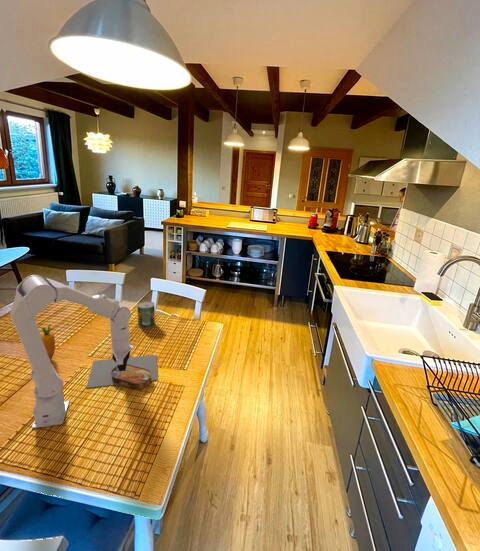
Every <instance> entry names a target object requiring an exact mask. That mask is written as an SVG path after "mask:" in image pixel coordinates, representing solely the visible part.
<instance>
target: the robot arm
mask: <svg viewBox="0 0 480 551" xmlns="http://www.w3.org/2000/svg"><path fill="white" fill-rule="evenodd" d="M15 290H16V292H15V296H14V299H13V302H12V304H11V308H10V312H9V314H10V317H11V320H12V322H13V325H14V327H15V329H16V331H17V335H18V337H19V340H20V342H21V344H22V346H23V347H22V348H23V349H24V352H25V354H26V357H27V358H28V361H29V364H30V367H31V373H30V377H31V380H32V381H33V383H34V390H33V392H34V393H33V394H34V399H35V404H34V407H33V409H32V413H33V414H32V415H33V420H34V421H33V423H32V425H31V428H32V429H39V428H45V427H46V428H47V427H53V426H58V425H59V426H60V425H62V424H63V423H64V420H65V416H66V414H67V412H68V407H69V405H70V401H69V400H66V401H65V395H64V380H63V378H61V377H60V375H59V374H58V372H57V371H56V369H55V366H54V365H53V364H52V363H51V362H52V361H51V360H50V359H49V356H48V354H47V351H46V348H45V346H44V343H43V340H42V338H41V333H40V330H39V328H38V327H39V326H38V324H37V322H36V319H35V318H36V316H37V315H38V314H39V313H40V312H42V311H43V310H45V309H46V308H47V307H49V306H50V305H52V303H55V304H57V303H60V302H62V301H64V300H66V301H69V302H72V303H75V304H78V305H82V306H85V307H87V309H88V312H90V313H92V314H94V315H95V314H96V315H98V316H100V317H104V318H107V319H109V320H110V321H109V322H110V335H111V352H112V356H111V357H112V358H111V359H113V360H114V361H115V362H116V365H117V366H118V369H119V371H125V370H126V365H127V361H128V359H129V357H130V355H131V351H133V350H134V345H133V344H130V323H129V321H130V320H131V318H132V316H133V314H132V312H131V310H130V308H128V307H127V306H126V305H125V304H124V303H122V302H120V300H116V299H115V300H113V299H111V298H108V296H107V295H106V294H102V293H101V295H100V294H95V295H89V294H87V293H85V292H82V291H80V290H77V289H75V288H74V287H72V286H69V285H66V284H65V283H61V282H59V281H57V280H54V279H51V278H47V277H46V278H44V277H43V276H41V275H37V274H32V275H28V276H26V277H25V278H24V279H23V280H22V281H21V282H20V283H19V284H18V285H17V286H16V289H15Z"/></svg>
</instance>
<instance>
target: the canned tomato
mask: <svg viewBox="0 0 480 551" xmlns="http://www.w3.org/2000/svg"><path fill="white" fill-rule="evenodd" d="M136 307H137V326H138V328H140V329H144V330H145V329H152V328H153V327H154V326H156V324H155V321H156V320H155V318H156V317H155V314H156V313H155V312H156V311H155V302H153V301H151V300H149V301H148V300H145V301H140V302H138V303H137V305H136Z"/></svg>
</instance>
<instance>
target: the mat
mask: <svg viewBox="0 0 480 551" xmlns="http://www.w3.org/2000/svg"><path fill="white" fill-rule="evenodd" d="M157 358H158V356H157V354H152V355H151V354H150V355H141V356H140V355H139V356H131V357H129V359H128V361H127V364H129V365H132V366H136V367H140V368H143V369H147V370H149V371H150V372H151V382H154V381H159V379H158V361H157V360H158V359H157ZM115 367H117V365H116V362H115V361H114V360H113V358H108V359H96V360H93V362H92V365H91V368H90V371H89V372H90V373H89V376H88V380H87V383H86V389H93V388H101V387H111V386H120V385H121V384H117V383H115V382H113V380H112V376H111V371H112V370H113V369H114V368H115Z"/></svg>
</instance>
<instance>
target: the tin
mask: <svg viewBox="0 0 480 551" xmlns="http://www.w3.org/2000/svg"><path fill="white" fill-rule="evenodd" d="M111 376H112V380H113V382H115V383H117V384H121V385H122V386H125V387H128V388H132V389H137V390H138V389H144V388H146V387H147V386H148V385H149V384H150V383H151V382H152V381H151V372H150V371H149V370H147V369H143V368H140V367H136V366H132V365H129V364H127V365H126V370H125V371H119V369H118V366H117V367H115V368H114V369H113V370H112V371H111Z"/></svg>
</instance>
